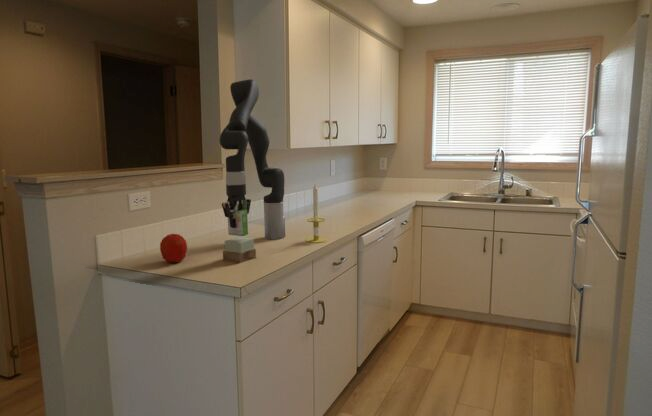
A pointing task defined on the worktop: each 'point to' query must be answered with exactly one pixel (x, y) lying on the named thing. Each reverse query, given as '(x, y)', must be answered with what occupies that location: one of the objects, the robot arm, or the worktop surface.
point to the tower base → (239, 256)
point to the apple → (173, 248)
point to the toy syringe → (315, 219)
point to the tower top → (239, 244)
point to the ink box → (239, 222)
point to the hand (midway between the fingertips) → (237, 226)
